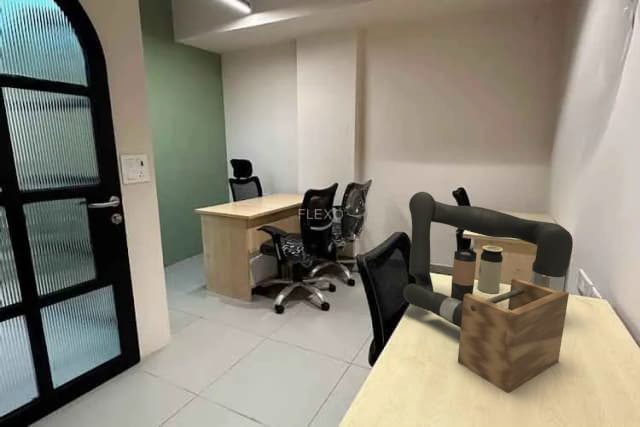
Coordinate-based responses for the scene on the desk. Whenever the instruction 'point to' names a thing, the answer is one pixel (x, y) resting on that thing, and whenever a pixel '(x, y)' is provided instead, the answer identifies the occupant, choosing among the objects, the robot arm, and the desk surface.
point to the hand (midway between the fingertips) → (511, 338)
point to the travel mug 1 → (463, 273)
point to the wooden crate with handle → (512, 333)
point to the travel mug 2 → (490, 269)
